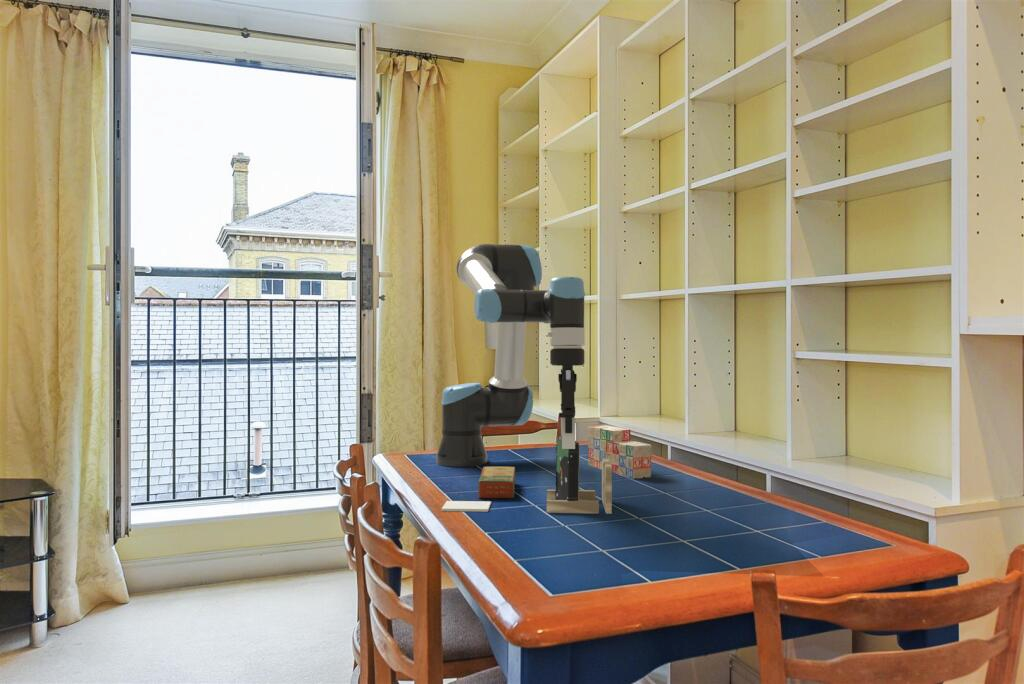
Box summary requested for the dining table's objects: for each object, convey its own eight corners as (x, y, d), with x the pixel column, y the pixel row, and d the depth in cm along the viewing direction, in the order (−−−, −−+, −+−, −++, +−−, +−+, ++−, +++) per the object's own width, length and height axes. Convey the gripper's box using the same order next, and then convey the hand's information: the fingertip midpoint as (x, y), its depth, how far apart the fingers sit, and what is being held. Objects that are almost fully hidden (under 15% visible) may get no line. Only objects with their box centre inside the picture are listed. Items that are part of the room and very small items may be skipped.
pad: (446, 503, 153) (446, 500, 153) (490, 504, 152) (490, 501, 152) (441, 511, 146) (441, 508, 146) (488, 512, 145) (488, 509, 145)
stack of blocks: (651, 479, 180) (651, 433, 180) (632, 481, 177) (632, 434, 177) (605, 466, 199) (605, 424, 199) (587, 468, 196) (587, 425, 196)
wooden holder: (547, 500, 155) (547, 456, 155) (607, 501, 155) (607, 457, 155) (546, 513, 144) (546, 465, 144) (611, 513, 143) (611, 466, 143)
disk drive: (580, 511, 145) (580, 441, 145) (567, 512, 144) (567, 442, 144) (566, 500, 155) (566, 435, 155) (555, 500, 154) (555, 435, 154)
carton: (515, 482, 172) (515, 465, 172) (514, 498, 156) (514, 480, 156) (482, 482, 172) (482, 465, 172) (478, 498, 156) (478, 480, 156)
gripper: (550, 347, 162) (550, 436, 162) (550, 347, 137) (550, 452, 137) (581, 347, 162) (582, 437, 161) (587, 347, 137) (587, 452, 137)
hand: (567, 444), depth 149 cm, fingers open, 13 cm apart
